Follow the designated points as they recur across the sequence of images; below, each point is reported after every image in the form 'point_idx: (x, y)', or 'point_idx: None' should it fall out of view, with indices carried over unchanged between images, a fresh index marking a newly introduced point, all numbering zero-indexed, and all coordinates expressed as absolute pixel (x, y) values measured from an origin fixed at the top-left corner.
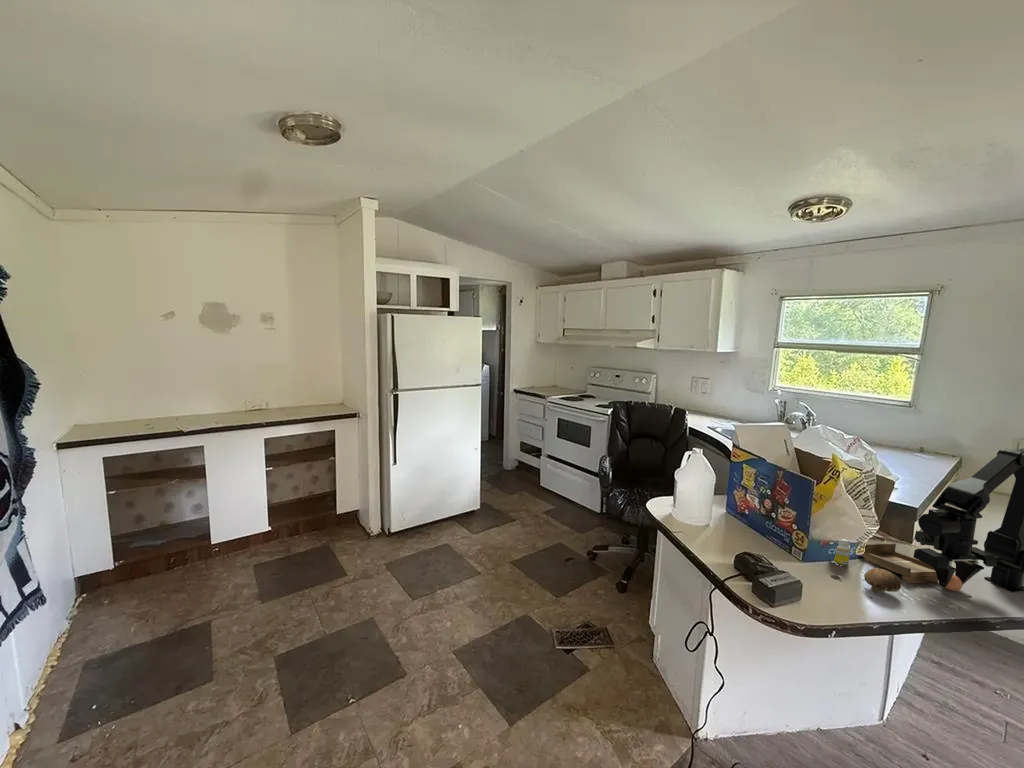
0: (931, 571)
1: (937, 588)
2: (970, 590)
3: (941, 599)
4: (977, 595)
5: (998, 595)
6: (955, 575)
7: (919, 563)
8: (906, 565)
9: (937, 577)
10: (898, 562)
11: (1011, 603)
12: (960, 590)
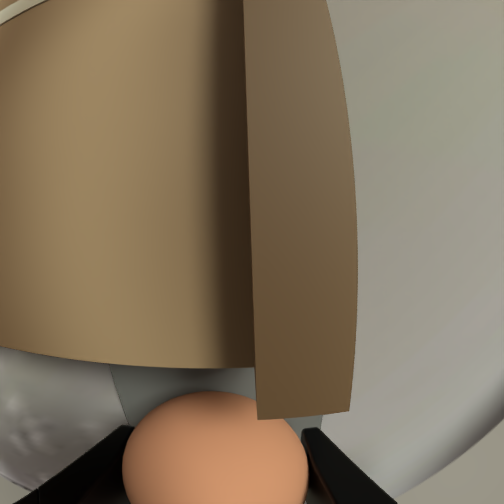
0: (103, 352)
1: (119, 396)
2: (416, 385)
3: (76, 448)
4: (384, 434)
5: (491, 402)
6: (328, 495)
7: (239, 3)
8: (6, 87)
9: (69, 465)
10: (31, 7)
11: (455, 454)
12: (309, 425)
